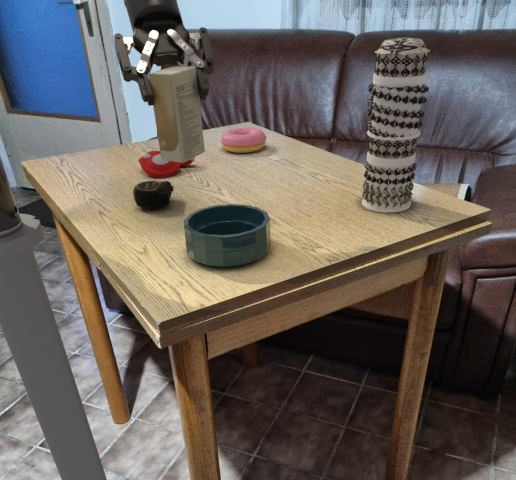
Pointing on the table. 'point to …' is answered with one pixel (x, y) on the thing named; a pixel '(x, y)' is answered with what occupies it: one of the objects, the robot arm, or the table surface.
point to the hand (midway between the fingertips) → (178, 99)
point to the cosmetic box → (177, 113)
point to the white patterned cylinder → (394, 123)
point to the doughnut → (243, 140)
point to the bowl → (227, 235)
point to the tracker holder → (160, 165)
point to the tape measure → (152, 194)
